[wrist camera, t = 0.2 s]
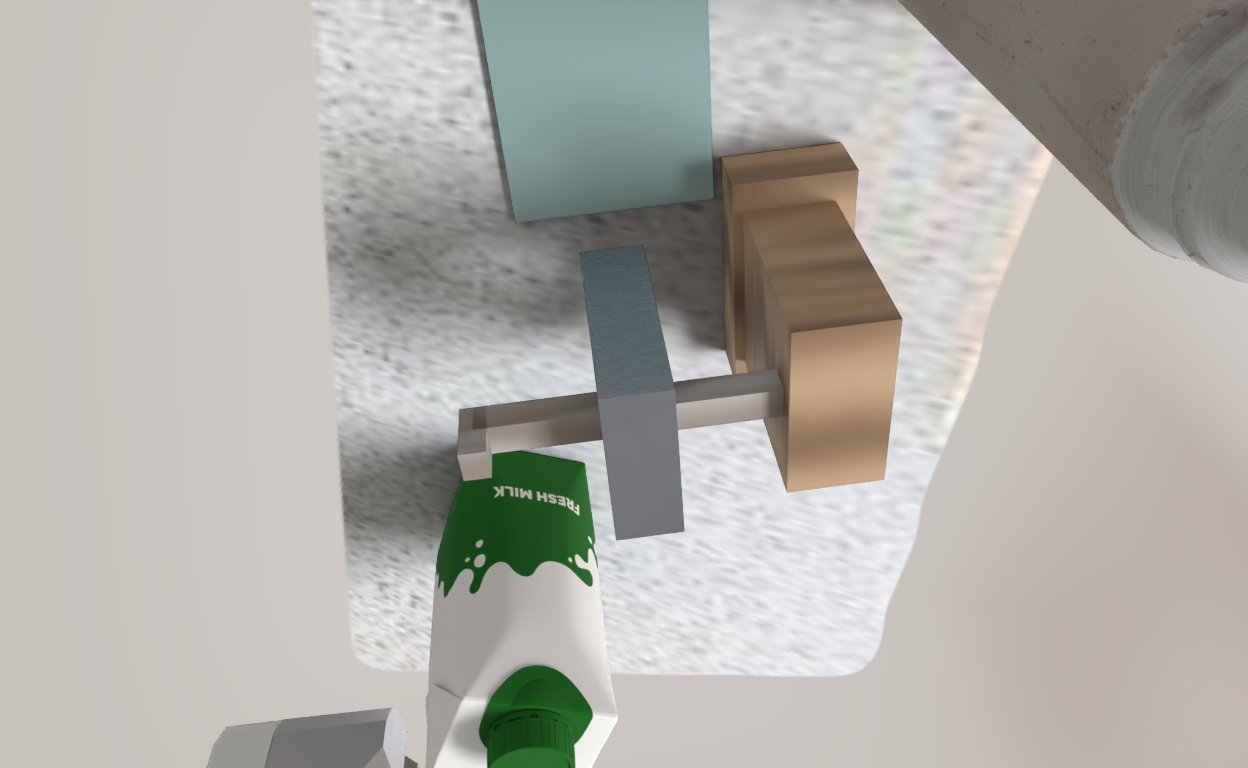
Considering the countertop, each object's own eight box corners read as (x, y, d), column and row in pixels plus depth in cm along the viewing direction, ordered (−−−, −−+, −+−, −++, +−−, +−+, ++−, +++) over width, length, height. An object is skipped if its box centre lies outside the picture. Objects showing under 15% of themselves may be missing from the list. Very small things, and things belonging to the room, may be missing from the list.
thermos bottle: (1084, -100, 43) (1695, 211, 21) (940, 44, 46) (1337, 441, 24) (975, -239, 39) (1579, -37, 17) (827, -72, 42) (1176, 274, 21)
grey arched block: (579, 252, 47) (597, 399, 38) (642, 244, 47) (675, 389, 38) (596, 384, 52) (616, 540, 43) (653, 376, 52) (684, 531, 43)
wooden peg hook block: (446, 190, 48) (431, 354, 38) (841, 142, 49) (935, 291, 38) (487, 381, 56) (484, 563, 45) (829, 338, 56) (906, 507, 46)
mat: (472, -29, 42) (472, -27, 42) (704, -56, 42) (706, -54, 42) (515, 219, 50) (515, 222, 49) (712, 194, 50) (713, 198, 50)
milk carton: (603, 454, 60) (640, 753, 45) (559, 553, 65) (578, 852, 50) (462, 426, 58) (448, 732, 42) (427, 531, 63) (403, 839, 47)
